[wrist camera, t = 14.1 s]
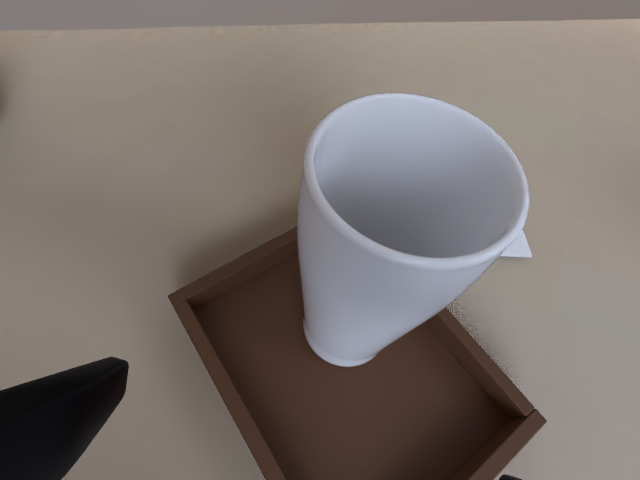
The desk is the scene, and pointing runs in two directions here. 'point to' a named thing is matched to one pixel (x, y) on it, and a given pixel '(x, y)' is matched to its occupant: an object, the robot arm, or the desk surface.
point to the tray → (348, 385)
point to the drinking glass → (398, 218)
